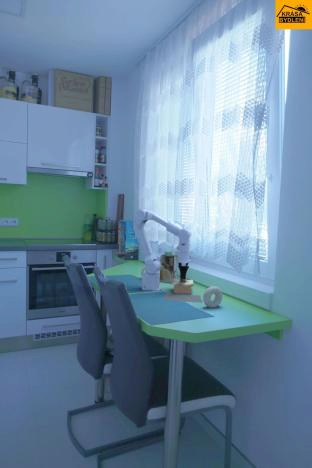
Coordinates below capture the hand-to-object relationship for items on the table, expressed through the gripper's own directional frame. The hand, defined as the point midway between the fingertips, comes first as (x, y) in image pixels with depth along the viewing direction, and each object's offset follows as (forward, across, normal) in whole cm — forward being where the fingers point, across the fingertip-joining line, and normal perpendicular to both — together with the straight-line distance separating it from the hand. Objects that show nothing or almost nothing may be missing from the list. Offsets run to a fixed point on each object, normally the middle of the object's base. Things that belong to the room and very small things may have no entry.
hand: (182, 277), depth 178 cm
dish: (+8, 0, 0) cm, 8 cm away
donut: (+8, -26, -13) cm, 30 cm away
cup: (+8, +30, +20) cm, 37 cm away
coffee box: (+8, +26, +8) cm, 28 cm away
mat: (+8, -13, 0) cm, 15 cm away
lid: (+3, 0, 0) cm, 3 cm away
